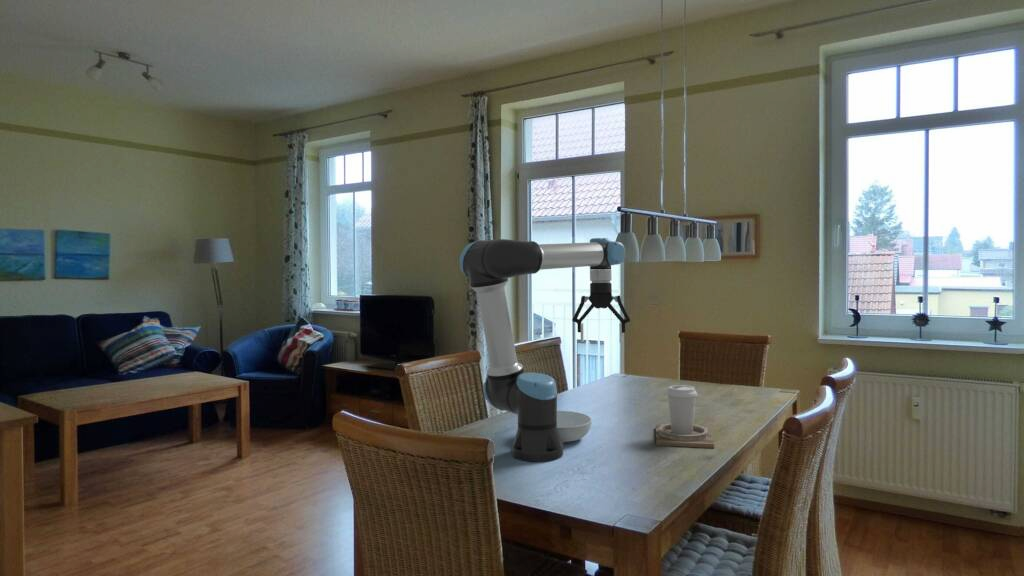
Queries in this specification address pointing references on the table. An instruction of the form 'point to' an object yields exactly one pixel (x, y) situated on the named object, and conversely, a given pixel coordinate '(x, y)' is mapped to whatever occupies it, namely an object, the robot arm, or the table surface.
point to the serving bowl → (572, 425)
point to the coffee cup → (682, 408)
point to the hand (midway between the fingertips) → (601, 342)
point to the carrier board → (684, 437)
